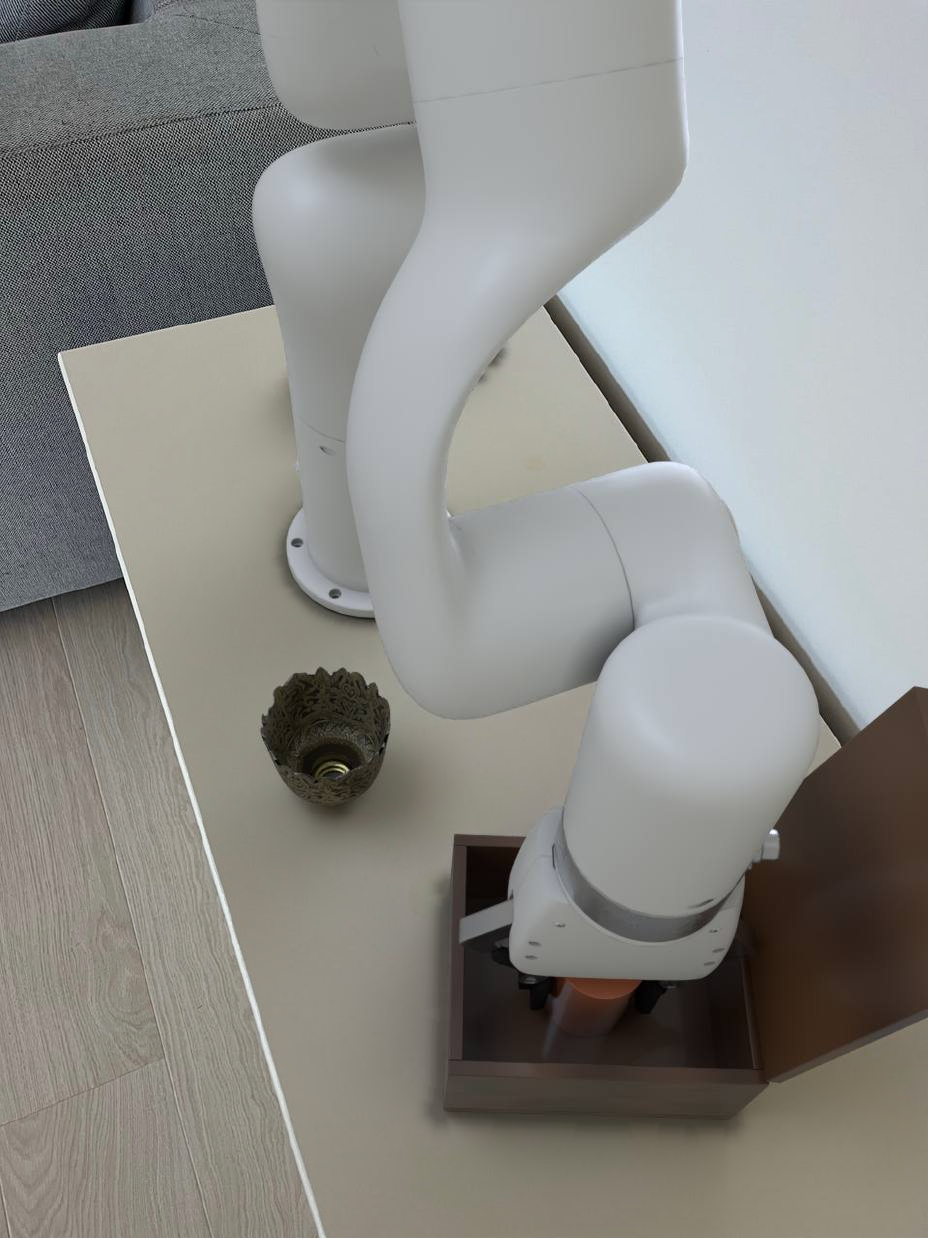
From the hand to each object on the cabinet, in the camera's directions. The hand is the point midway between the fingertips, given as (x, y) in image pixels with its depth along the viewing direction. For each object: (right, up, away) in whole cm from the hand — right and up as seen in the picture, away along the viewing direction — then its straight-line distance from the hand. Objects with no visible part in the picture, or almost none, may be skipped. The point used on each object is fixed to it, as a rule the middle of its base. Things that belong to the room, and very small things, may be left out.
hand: (588, 983), depth 59 cm
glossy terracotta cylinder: (0, -1, +2) cm, 2 cm away
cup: (-15, +9, +9) cm, 20 cm away
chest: (0, -1, +2) cm, 3 cm away
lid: (+10, +8, -11) cm, 16 cm away
